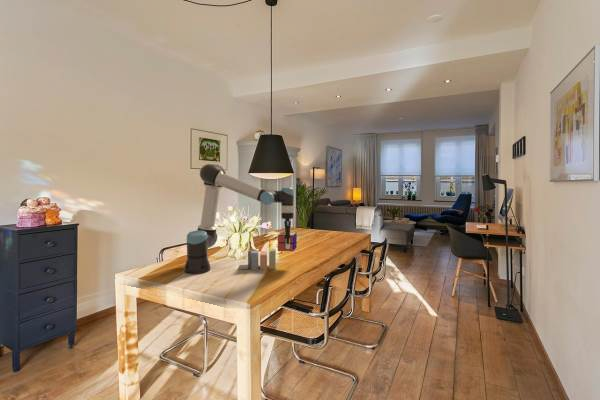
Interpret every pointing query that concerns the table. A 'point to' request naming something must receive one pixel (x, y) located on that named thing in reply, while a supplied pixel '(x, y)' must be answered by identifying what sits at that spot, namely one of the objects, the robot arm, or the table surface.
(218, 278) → the table surface
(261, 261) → the book
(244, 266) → the bookend
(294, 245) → the puzzle cube
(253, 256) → the book
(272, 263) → the book
